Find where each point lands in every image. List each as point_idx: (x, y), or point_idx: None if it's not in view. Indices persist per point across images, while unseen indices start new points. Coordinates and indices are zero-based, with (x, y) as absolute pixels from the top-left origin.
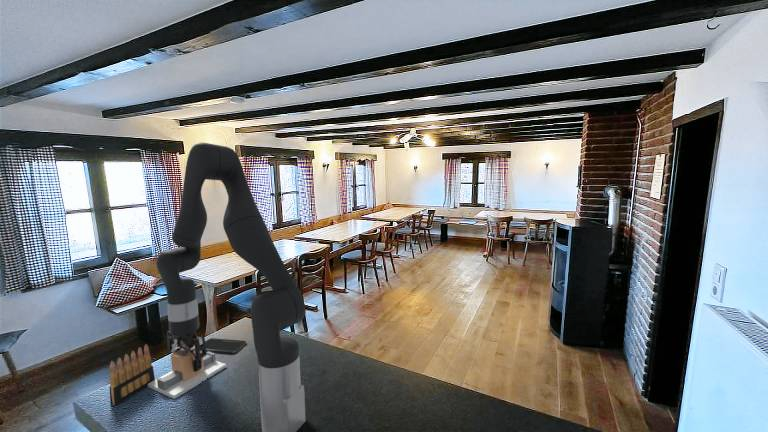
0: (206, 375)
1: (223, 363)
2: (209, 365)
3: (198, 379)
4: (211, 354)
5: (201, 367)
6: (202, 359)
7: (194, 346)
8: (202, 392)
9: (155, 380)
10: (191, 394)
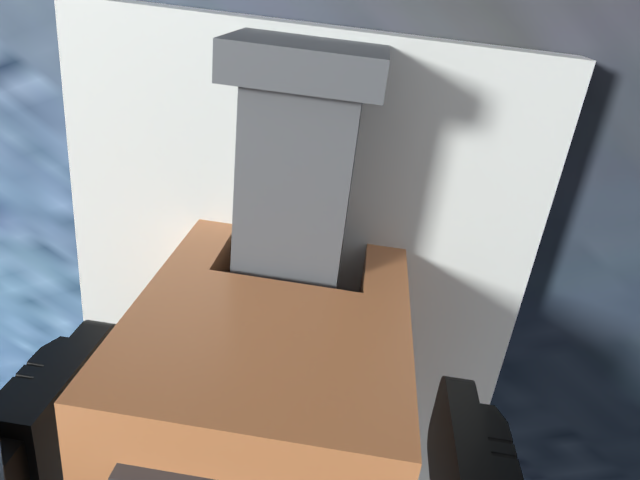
0: (509, 312)
1: (551, 59)
2: (388, 154)
3: (476, 378)
4: (349, 100)
5: (496, 411)
6: (407, 338)
7: (185, 431)
8: (613, 442)
9: None
10: (532, 473)
